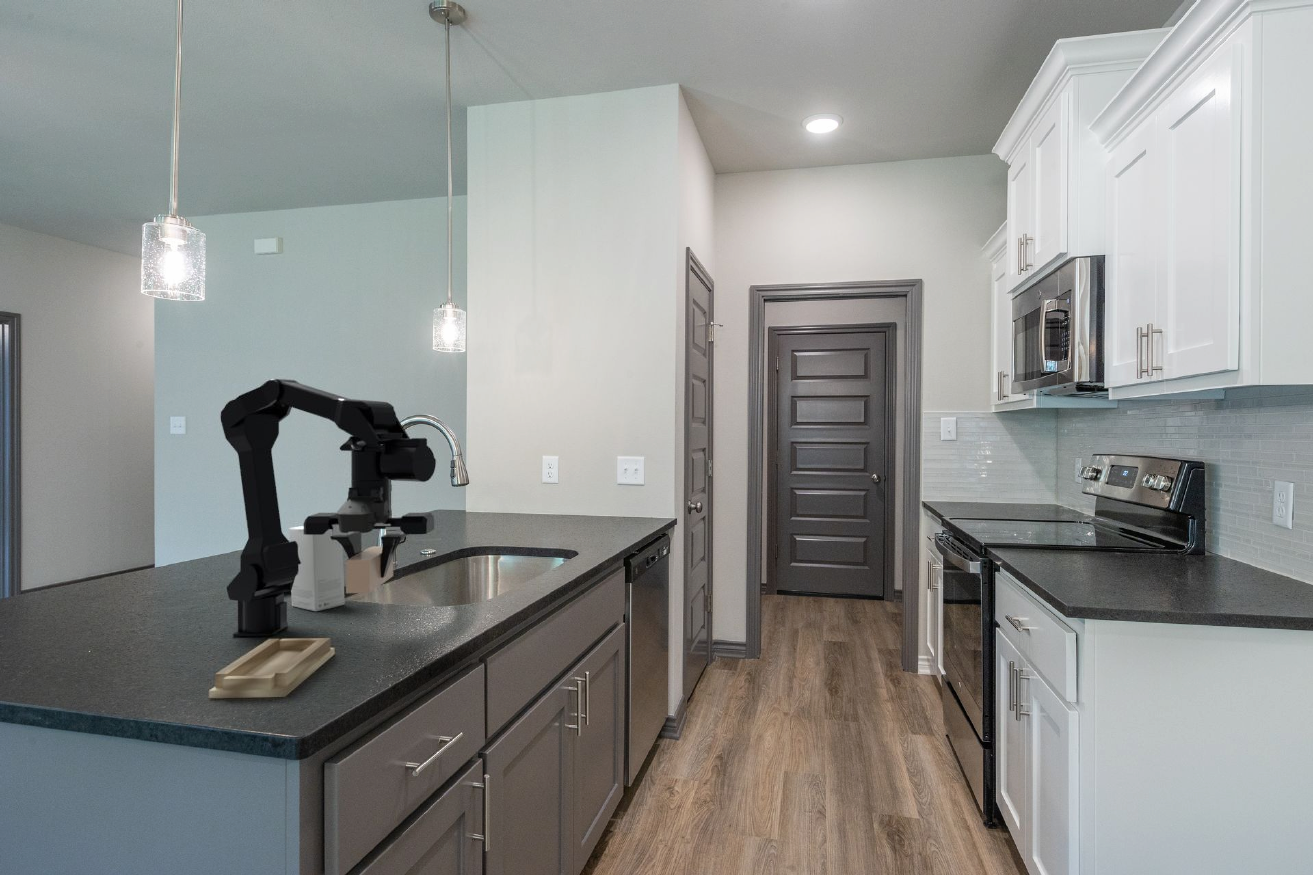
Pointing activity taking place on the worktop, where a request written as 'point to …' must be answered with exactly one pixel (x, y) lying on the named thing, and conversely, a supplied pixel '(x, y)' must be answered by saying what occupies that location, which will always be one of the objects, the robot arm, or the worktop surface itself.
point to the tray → (272, 668)
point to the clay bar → (366, 571)
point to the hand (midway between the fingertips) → (370, 577)
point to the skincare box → (317, 571)
